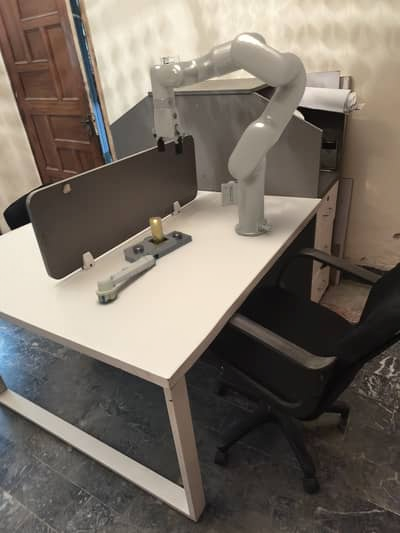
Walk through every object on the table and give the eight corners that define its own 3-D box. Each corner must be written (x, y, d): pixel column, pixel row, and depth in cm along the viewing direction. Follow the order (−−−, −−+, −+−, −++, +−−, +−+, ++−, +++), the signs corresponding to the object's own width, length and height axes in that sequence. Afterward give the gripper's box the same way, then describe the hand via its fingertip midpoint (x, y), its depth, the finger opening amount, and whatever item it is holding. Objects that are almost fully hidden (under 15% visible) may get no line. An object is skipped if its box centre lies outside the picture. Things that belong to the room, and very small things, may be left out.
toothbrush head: (156, 254, 120) (102, 280, 100) (159, 273, 122) (106, 303, 102) (144, 253, 123) (88, 278, 103) (146, 271, 125) (93, 300, 105)
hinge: (221, 206, 165) (220, 184, 160) (224, 202, 169) (222, 180, 164) (252, 206, 161) (252, 184, 156) (254, 202, 166) (253, 180, 161)
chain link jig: (175, 235, 142) (173, 223, 139) (192, 240, 136) (190, 228, 134) (125, 260, 127) (122, 247, 125) (141, 267, 121) (139, 254, 119)
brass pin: (167, 249, 132) (163, 218, 126) (159, 253, 129) (154, 222, 123) (160, 246, 134) (155, 216, 128) (152, 250, 132) (147, 219, 126)
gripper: (189, 102, 127) (193, 152, 136) (156, 102, 138) (162, 148, 147) (173, 105, 123) (179, 157, 131) (141, 105, 134) (148, 153, 142)
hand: (170, 152), depth 139 cm, fingers open, 9 cm apart
